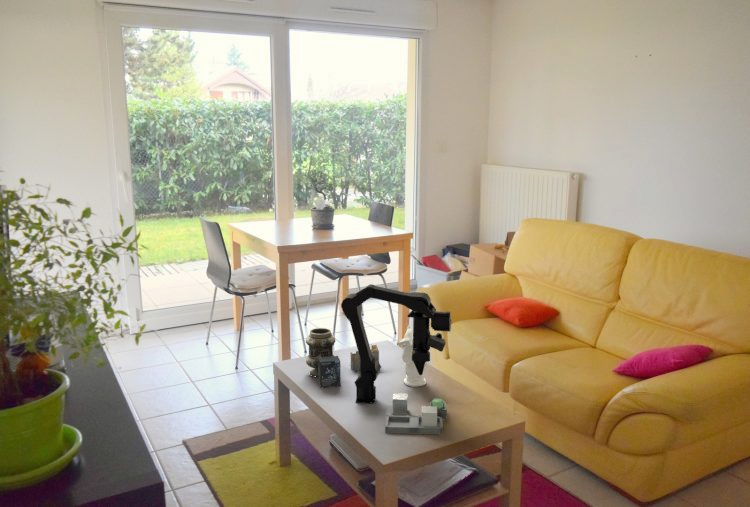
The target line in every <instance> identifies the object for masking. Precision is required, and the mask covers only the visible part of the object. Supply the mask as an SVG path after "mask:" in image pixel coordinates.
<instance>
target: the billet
mask: <svg viewBox="0 0 750 507" xmlns="http://www.w3.org/2000/svg"><path fill="white" fill-rule="evenodd" d="M408 394H409V393H393V394H392V415H395V416H408V407H409V406H408V404H409V403H408V397H409V396H408Z"/></svg>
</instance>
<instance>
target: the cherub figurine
mask: <svg viewBox="0 0 750 507" xmlns="http://www.w3.org/2000/svg"><path fill="white" fill-rule="evenodd" d="M412 343H413V328H411V326H410V325H409V324H407V327H406V332H405V333H404V337H403V338H401V339H400V341H397V342H396V346H397V347H398V346H399V347H402V346H404V347H403V352H402V355H401V356H402V357H401V358H402V361H403V362H404V363H405V366H404V372H405V374H406V375H405V378H404V379H403V383H404V385H405V386H407V387H413V388H417V387H423V386H425V385H427V380H426V378H425V372H426V370H428V369H429V364H428V362H425V365H424V369H423V374H422V375H419V373H418V371H417V369H416V366H415V364H414V362H413V361H412V352H413V346H412Z"/></svg>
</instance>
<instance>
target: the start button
mask: <svg viewBox="0 0 750 507" xmlns="http://www.w3.org/2000/svg"><path fill="white" fill-rule="evenodd" d="M431 402H432V406H437V409H443V402H444V400H443V399H441V398H433V399H432V400H431Z"/></svg>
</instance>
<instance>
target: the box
mask: <svg viewBox="0 0 750 507" xmlns="http://www.w3.org/2000/svg"><path fill="white" fill-rule="evenodd" d="M318 369H319V378H318V384H320V385H319V387H320V388H321V387H323V388H329V387H328V386H334V387H341V360H340V358H339V355H334V356H330V357H318Z"/></svg>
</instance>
